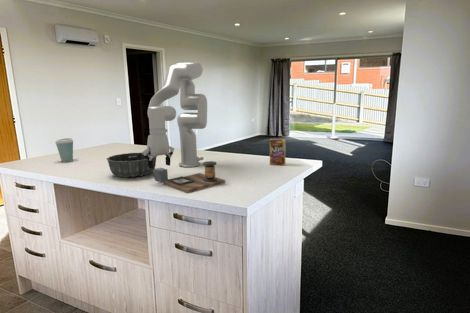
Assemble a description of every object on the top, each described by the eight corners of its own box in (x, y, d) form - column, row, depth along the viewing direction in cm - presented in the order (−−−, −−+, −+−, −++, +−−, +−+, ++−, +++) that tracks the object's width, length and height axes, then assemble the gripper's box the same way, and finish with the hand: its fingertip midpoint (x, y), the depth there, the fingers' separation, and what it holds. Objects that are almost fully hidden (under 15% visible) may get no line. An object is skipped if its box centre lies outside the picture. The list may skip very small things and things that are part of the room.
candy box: (269, 165, 191) (269, 139, 188) (271, 163, 195) (271, 138, 192) (284, 165, 188) (284, 139, 185) (285, 164, 192) (285, 138, 189)
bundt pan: (133, 166, 195) (132, 150, 193) (168, 170, 183) (167, 153, 181) (97, 177, 172) (95, 159, 170) (134, 182, 160) (132, 163, 158)
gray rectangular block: (161, 178, 166) (160, 167, 165) (168, 181, 161) (167, 169, 160) (154, 180, 163) (153, 169, 162) (160, 182, 159) (160, 170, 158)
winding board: (199, 175, 170) (199, 156, 168) (225, 182, 156) (224, 162, 154) (163, 184, 155) (162, 164, 153) (187, 193, 141) (186, 170, 139)
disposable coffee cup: (68, 163, 210) (66, 140, 207) (54, 162, 211) (50, 140, 208) (79, 159, 220) (76, 137, 217) (64, 159, 222) (62, 137, 219)
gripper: (168, 130, 166) (170, 163, 169) (137, 133, 154) (139, 168, 157) (177, 131, 160) (178, 165, 163) (145, 134, 149) (147, 170, 152)
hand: (159, 166), depth 160 cm, fingers open, 9 cm apart
